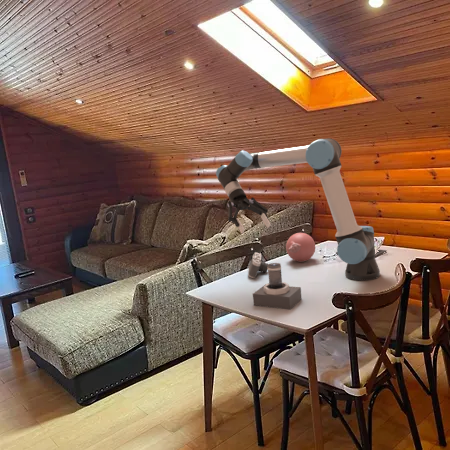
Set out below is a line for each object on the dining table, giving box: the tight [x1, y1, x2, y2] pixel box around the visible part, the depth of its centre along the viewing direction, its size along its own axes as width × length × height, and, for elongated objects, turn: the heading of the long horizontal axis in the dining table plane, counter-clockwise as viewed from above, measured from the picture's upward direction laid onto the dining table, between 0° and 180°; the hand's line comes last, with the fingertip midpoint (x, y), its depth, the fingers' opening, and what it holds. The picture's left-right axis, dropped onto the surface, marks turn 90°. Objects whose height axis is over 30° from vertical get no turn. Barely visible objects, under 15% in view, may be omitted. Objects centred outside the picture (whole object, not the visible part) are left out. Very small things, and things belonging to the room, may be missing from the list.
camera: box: [247, 252, 269, 279], centre depth 224 cm, size 9×16×10 cm, turn 177°
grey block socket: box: [252, 281, 303, 310], centre depth 182 cm, size 16×12×7 cm
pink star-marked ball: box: [285, 232, 316, 263], centre depth 236 cm, size 15×20×15 cm
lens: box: [267, 262, 283, 289], centre depth 181 cm, size 6×6×11 cm
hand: (256, 228), depth 197 cm, fingers open, 13 cm apart
